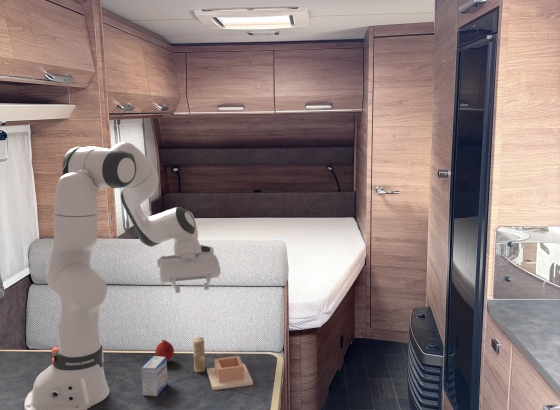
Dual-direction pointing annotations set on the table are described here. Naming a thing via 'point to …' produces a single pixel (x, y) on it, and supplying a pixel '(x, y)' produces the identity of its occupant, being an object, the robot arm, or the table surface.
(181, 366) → the table surface
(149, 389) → the medicine box
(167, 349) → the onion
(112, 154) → the robot arm
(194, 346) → the tall tan block
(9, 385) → the table surface
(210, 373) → the stepped square socket
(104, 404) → the table surface
